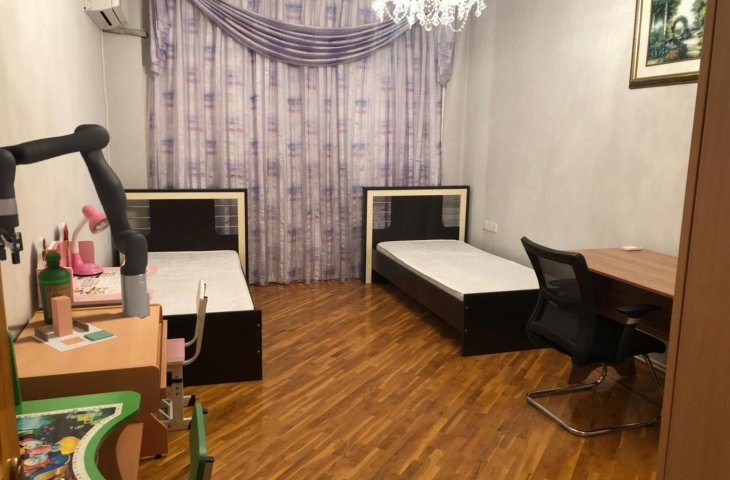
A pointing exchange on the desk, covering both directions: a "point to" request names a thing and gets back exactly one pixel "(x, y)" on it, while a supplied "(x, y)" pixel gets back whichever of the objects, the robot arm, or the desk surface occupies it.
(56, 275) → the bottle
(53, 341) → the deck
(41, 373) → the desk surface
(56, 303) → the post
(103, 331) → the pad
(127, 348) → the desk surface
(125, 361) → the desk surface
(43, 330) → the tray
